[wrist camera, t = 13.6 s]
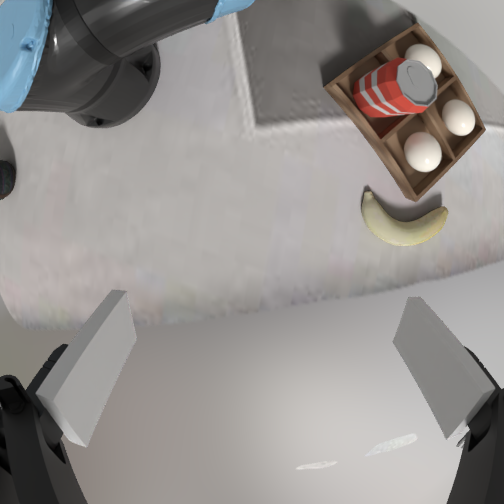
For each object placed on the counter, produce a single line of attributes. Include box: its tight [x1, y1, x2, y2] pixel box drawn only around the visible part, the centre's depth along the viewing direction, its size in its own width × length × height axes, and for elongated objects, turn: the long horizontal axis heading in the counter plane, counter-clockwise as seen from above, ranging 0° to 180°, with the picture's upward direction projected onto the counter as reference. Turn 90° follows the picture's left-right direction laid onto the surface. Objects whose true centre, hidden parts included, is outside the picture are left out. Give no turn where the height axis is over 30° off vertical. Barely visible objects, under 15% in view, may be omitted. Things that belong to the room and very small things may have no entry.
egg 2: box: [404, 132, 442, 172], centre depth 31 cm, size 6×6×6 cm
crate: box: [323, 23, 486, 202], centre depth 30 cm, size 20×20×3 cm
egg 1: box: [405, 44, 442, 78], centre depth 26 cm, size 6×6×6 cm
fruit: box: [362, 191, 448, 246], centre depth 36 cm, size 7×15×3 cm, turn 85°
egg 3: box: [442, 99, 475, 136], centre depth 28 cm, size 6×6×6 cm
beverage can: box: [353, 58, 438, 117], centre depth 25 cm, size 6×6×12 cm
